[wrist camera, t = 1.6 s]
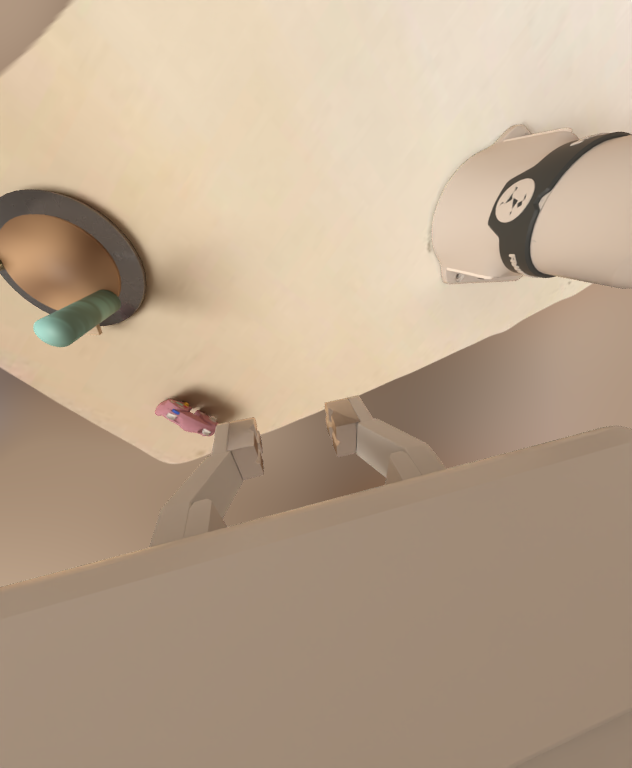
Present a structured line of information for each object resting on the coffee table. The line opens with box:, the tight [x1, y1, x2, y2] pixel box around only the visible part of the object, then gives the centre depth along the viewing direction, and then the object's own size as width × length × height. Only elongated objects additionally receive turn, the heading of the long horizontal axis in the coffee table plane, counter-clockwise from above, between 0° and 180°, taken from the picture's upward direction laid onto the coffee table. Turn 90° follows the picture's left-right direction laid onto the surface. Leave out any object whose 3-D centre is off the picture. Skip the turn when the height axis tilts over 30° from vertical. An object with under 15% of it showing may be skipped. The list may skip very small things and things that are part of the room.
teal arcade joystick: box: [0, 214, 121, 347], centre depth 23 cm, size 11×11×11 cm
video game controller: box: [155, 399, 219, 436], centre depth 41 cm, size 10×5×7 cm, turn 43°
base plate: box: [0, 190, 146, 326], centre depth 28 cm, size 14×14×2 cm
